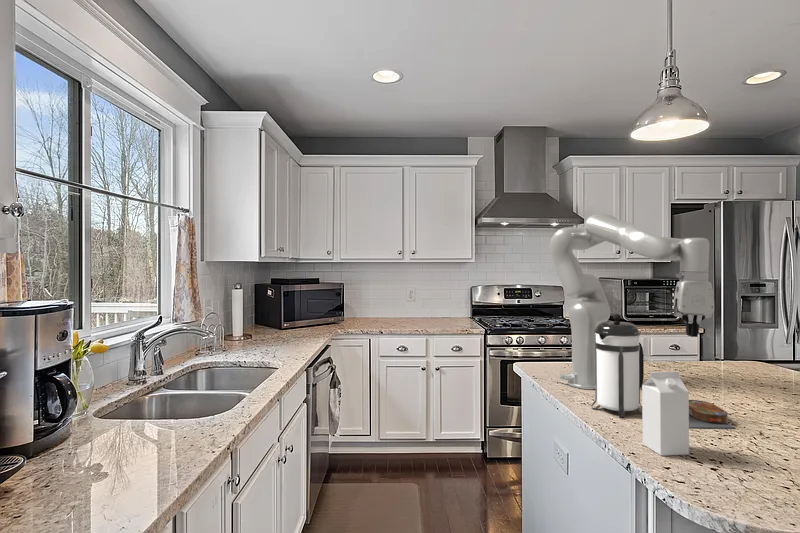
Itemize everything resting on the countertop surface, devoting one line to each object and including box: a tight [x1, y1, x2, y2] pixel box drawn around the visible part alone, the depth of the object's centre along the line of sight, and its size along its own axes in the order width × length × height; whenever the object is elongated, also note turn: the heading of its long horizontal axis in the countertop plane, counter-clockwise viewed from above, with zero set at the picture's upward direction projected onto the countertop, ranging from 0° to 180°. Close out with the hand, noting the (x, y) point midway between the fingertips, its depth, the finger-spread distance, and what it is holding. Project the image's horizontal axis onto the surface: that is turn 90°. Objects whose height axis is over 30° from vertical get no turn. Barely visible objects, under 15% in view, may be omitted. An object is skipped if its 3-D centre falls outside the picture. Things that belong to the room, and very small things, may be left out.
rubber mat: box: [689, 414, 736, 430], centre depth 135 cm, size 12×18×1 cm
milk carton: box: [641, 371, 690, 457], centre depth 112 cm, size 7×7×19 cm
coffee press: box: [591, 313, 645, 419], centre depth 143 cm, size 17×16×30 cm
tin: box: [689, 399, 729, 423], centre depth 135 cm, size 15×3×8 cm
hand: (692, 335), depth 143 cm, fingers closed
